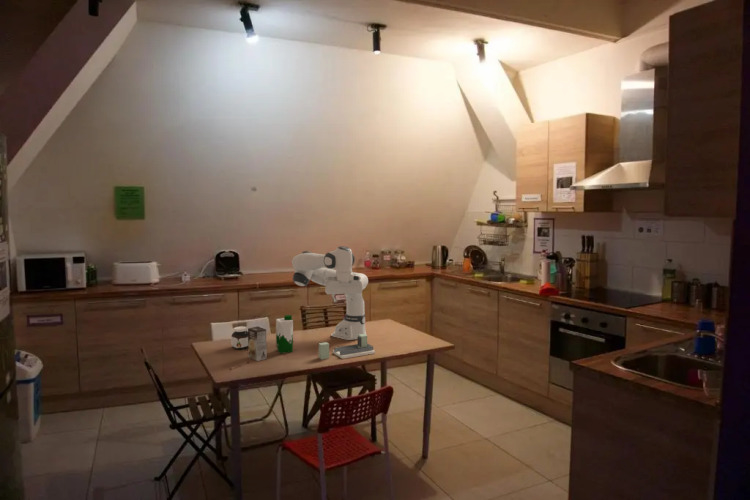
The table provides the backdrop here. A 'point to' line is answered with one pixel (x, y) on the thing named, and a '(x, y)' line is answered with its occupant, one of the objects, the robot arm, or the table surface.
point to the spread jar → (239, 338)
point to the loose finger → (324, 350)
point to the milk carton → (284, 334)
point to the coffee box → (257, 343)
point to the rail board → (355, 348)
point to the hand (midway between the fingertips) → (343, 301)
